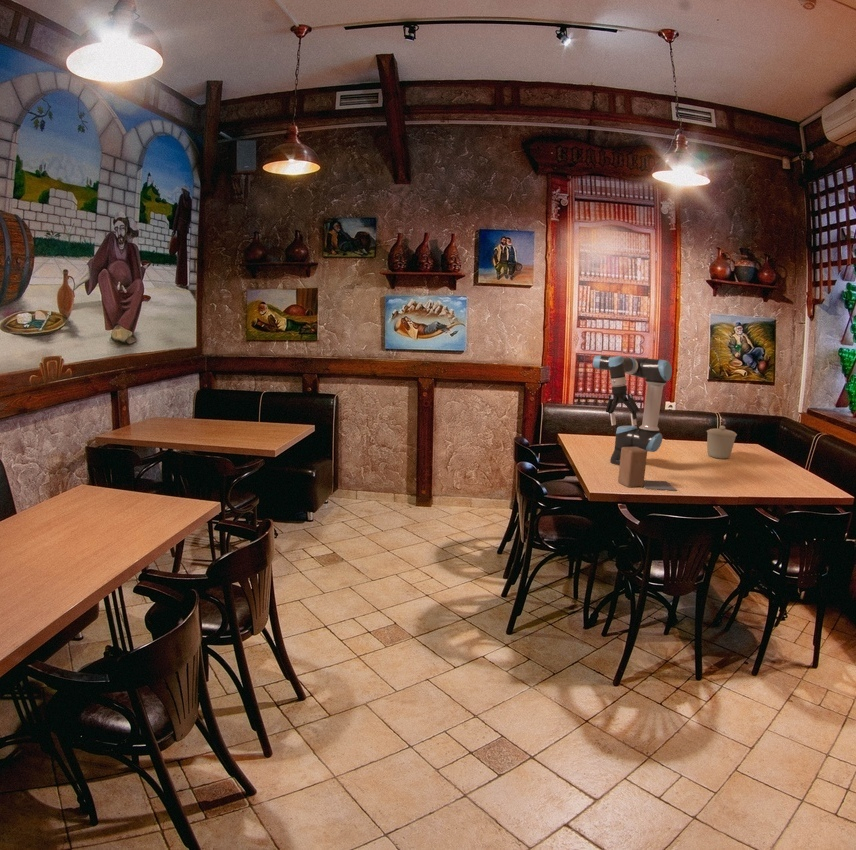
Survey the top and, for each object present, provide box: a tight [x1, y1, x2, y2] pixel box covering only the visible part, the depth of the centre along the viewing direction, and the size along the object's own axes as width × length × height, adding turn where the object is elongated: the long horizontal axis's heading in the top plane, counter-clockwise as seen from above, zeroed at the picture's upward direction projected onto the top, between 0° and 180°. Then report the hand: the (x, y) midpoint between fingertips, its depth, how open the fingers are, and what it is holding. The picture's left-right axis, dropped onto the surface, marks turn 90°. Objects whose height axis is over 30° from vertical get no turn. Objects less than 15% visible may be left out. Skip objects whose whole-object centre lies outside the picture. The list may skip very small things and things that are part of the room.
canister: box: [706, 425, 738, 460], centre depth 397 cm, size 18×18×21 cm
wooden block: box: [617, 447, 648, 488], centre depth 324 cm, size 10×10×20 cm
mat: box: [642, 479, 678, 492], centre depth 326 cm, size 16×16×1 cm
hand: (623, 425), depth 322 cm, fingers open, 13 cm apart
